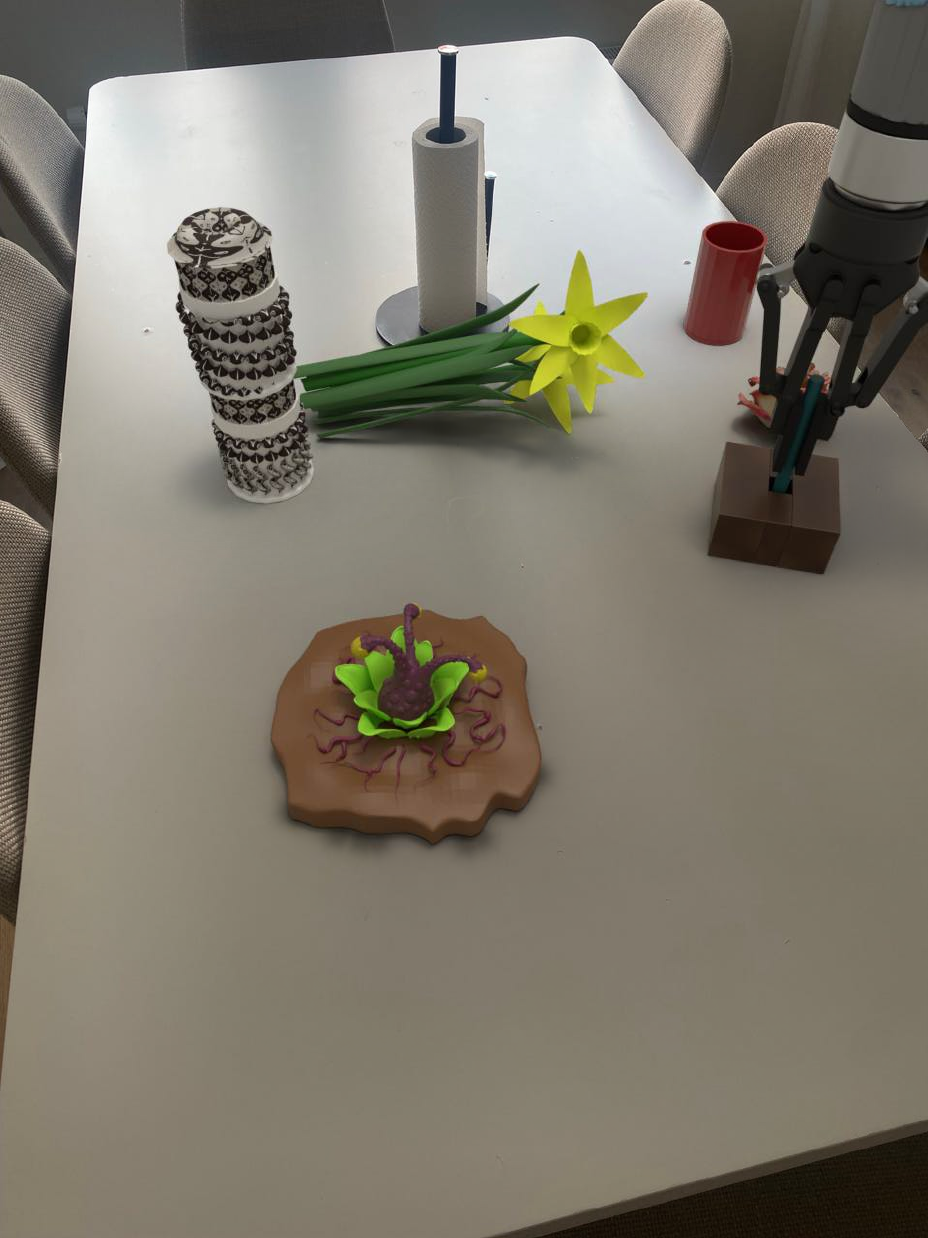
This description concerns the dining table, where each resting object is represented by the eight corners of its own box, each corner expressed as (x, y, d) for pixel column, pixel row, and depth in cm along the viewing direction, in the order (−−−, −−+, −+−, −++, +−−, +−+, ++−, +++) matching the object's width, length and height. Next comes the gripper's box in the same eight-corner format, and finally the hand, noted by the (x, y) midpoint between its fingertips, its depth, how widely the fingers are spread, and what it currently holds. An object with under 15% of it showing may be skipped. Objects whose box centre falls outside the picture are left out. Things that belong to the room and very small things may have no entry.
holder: (822, 499, 86) (839, 457, 82) (823, 574, 80) (841, 533, 76) (715, 482, 87) (726, 441, 84) (707, 555, 81) (719, 513, 77)
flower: (856, 444, 88) (861, 359, 86) (781, 449, 85) (784, 361, 83) (786, 442, 97) (789, 365, 95) (715, 447, 94) (717, 367, 92)
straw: (773, 523, 84) (825, 374, 72) (773, 532, 83) (825, 383, 71) (760, 521, 84) (809, 372, 72) (759, 529, 83) (809, 381, 71)
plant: (283, 633, 75) (260, 536, 67) (518, 619, 76) (524, 522, 68) (267, 857, 62) (235, 772, 54) (550, 838, 63) (562, 751, 55)
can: (745, 316, 106) (768, 224, 98) (742, 348, 102) (766, 255, 94) (686, 309, 107) (704, 217, 99) (681, 340, 103) (699, 247, 95)
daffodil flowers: (335, 364, 102) (651, 299, 93) (342, 490, 99) (668, 436, 91) (262, 292, 86) (636, 205, 77) (269, 441, 83) (656, 368, 74)
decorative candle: (238, 518, 85) (170, 263, 65) (212, 459, 90) (142, 209, 71) (331, 489, 87) (292, 236, 68) (300, 434, 92) (255, 185, 73)
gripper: (991, 171, 61) (872, 448, 79) (774, 150, 63) (707, 424, 81) (1006, 223, 56) (876, 506, 74) (771, 198, 59) (700, 478, 77)
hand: (788, 463), depth 78 cm, fingers closed on straw
